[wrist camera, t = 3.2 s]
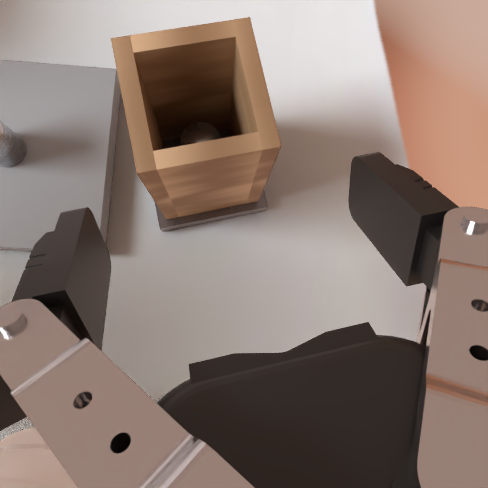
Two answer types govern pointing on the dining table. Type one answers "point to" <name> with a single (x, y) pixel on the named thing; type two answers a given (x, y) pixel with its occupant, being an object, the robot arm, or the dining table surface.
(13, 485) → the honey pot
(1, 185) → the hub plate
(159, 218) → the grey-brown square knobbed lid
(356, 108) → the dining table surface
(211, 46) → the oak collar
